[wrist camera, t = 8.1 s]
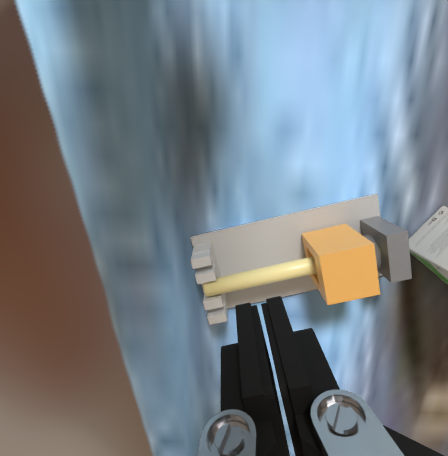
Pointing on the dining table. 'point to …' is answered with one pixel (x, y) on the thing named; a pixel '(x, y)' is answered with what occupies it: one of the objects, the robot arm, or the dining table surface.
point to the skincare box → (433, 244)
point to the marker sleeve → (342, 263)
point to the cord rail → (287, 254)
